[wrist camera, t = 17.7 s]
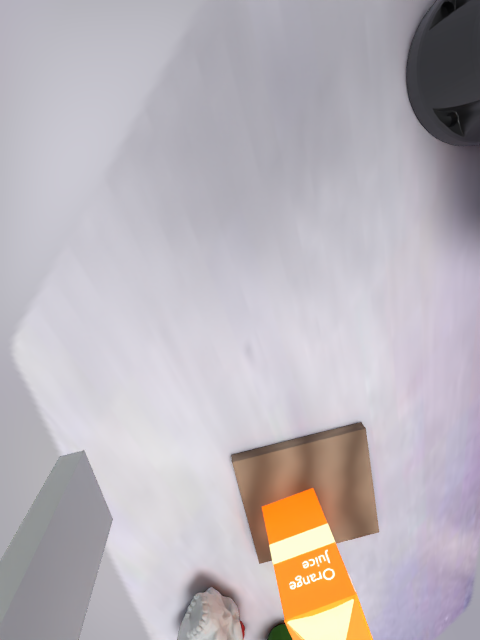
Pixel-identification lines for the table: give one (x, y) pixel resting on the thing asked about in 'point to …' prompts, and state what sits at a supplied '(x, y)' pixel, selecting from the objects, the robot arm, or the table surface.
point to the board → (311, 481)
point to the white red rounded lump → (211, 618)
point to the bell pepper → (280, 633)
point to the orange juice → (311, 572)
